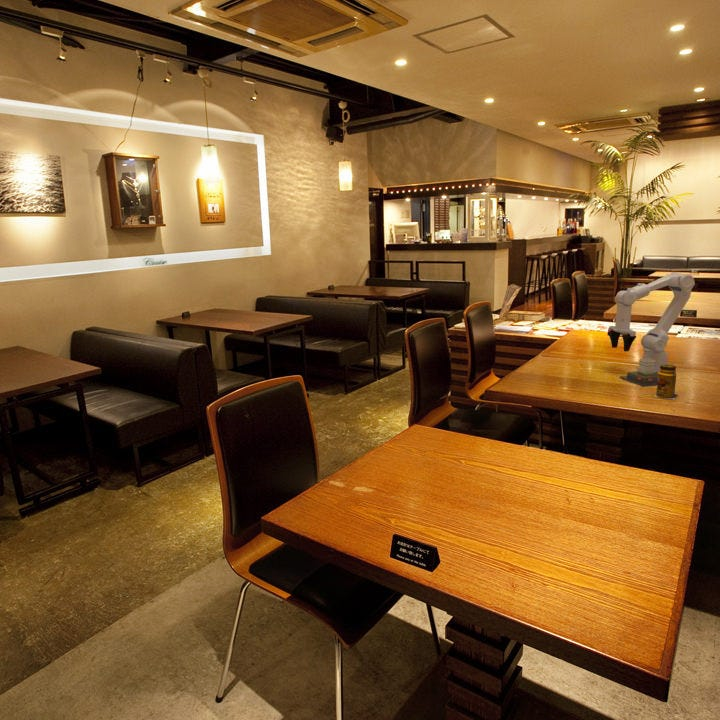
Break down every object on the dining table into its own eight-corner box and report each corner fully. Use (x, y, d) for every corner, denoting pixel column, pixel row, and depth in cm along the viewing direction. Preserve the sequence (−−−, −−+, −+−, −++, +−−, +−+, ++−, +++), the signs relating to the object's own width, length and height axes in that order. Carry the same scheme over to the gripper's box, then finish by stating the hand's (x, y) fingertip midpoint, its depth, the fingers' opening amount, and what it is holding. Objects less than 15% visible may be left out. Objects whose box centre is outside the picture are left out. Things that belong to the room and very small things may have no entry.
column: (646, 372, 230) (648, 357, 229) (654, 375, 226) (655, 360, 224) (637, 373, 229) (639, 358, 228) (645, 376, 225) (646, 361, 224)
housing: (647, 375, 236) (648, 368, 236) (672, 383, 223) (673, 376, 222) (619, 378, 233) (619, 371, 233) (643, 387, 220) (643, 379, 219)
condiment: (652, 396, 208) (655, 366, 205) (658, 391, 214) (661, 361, 211) (674, 400, 203) (677, 369, 200) (679, 394, 210) (682, 364, 207)
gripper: (604, 316, 242) (601, 346, 246) (626, 322, 229) (623, 353, 232) (617, 315, 244) (615, 345, 247) (641, 320, 230) (638, 352, 234)
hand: (620, 349), depth 240 cm, fingers open, 7 cm apart
